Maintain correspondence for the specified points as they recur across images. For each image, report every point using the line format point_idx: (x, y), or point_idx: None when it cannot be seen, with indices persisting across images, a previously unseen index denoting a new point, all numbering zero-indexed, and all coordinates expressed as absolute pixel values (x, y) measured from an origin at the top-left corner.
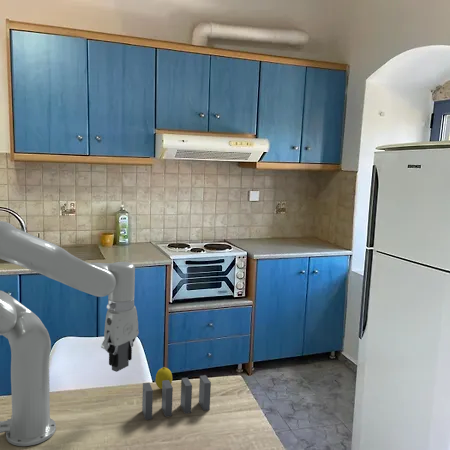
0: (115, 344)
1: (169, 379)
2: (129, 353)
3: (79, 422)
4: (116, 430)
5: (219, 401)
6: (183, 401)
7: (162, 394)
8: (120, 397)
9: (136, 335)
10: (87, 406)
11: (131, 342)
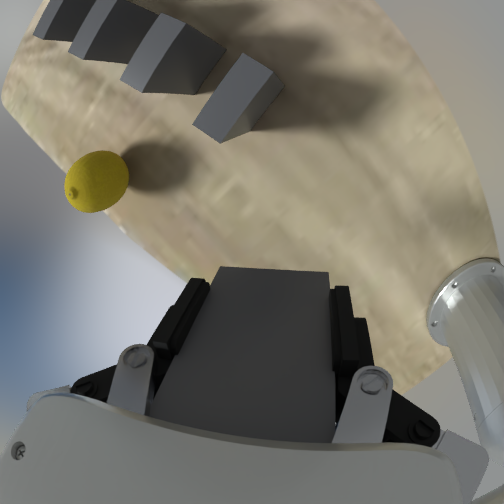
0: (452, 467)
1: (91, 154)
2: (190, 316)
3: (406, 249)
4: (386, 127)
5: None
6: (147, 32)
7: (175, 86)
8: (236, 244)
9: (51, 410)
10: (332, 286)
11: (130, 381)
